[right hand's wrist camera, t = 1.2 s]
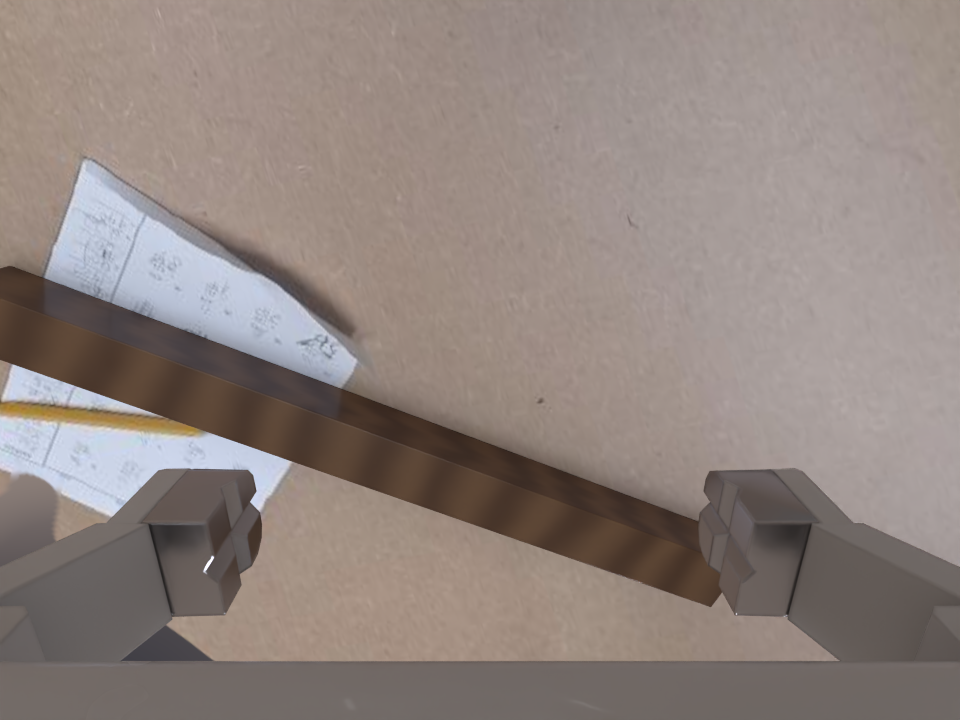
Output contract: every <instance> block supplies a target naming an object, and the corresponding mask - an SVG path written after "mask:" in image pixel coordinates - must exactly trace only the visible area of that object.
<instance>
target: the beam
mask: <svg viewBox="0 0 960 720" xmlns="http://www.w3.org/2000/svg"><path fill="white" fill-rule="evenodd" d="M0 360H2V361H5V362H8V363H11V364H14V365H17V366H19V367H22V368H25V369H28V370H31V371H34V372H37V373H40V374H42V375H45V376H48V377H51V378H54V379H57V380H60V381H63V382H65V383H68V384H71V385H74V386H77V387H80V388H83V389H86V390H88V391H91V392H94V393H97V394H100V395H103V396H106V397H109V398H111V399H114V400H117V401H120V402H123V403H126V404H129V405H132V406H134V407H137V408H140V409H143V410H146V411H149V412H152V413H155V414H157V415H160V416H163V417H166V418H169V419H172V420H175V421H178V422H180V423H183V424H186V425H189V426H192V427H195V428H198V429H201V430H203V431H206V432H209V433H212V434H215V435H218V436H221V437H223V438H226V439H229V440H232V441H235V442H238V443H241V444H244V445H246V446H249V447H252V448H255V449H258V450H261V451H264V452H267V453H269V454H272V455H275V456H278V457H281V458H284V459H287V460H290V461H292V462H295V463H298V464H301V465H304V466H307V467H310V468H313V469H315V470H318V471H321V472H324V473H327V474H330V475H333V476H336V477H338V478H341V479H344V480H347V481H350V482H353V483H356V484H359V485H361V486H364V487H367V488H370V489H373V490H376V491H379V492H382V493H384V494H387V495H390V496H393V497H396V498H399V499H402V500H405V501H407V502H410V503H413V504H416V505H419V506H422V507H425V508H428V509H430V510H433V511H436V512H439V513H442V514H445V515H448V516H451V517H453V518H456V519H459V520H462V521H465V522H468V523H471V524H474V525H476V526H479V527H482V528H485V529H488V530H491V531H494V532H497V533H499V534H502V535H505V536H508V537H511V538H514V539H517V540H520V541H522V542H525V543H528V544H531V545H534V546H537V547H540V548H542V549H545V550H548V551H551V552H554V553H557V554H560V555H563V556H565V557H568V558H571V559H574V560H577V561H580V562H583V563H586V564H588V565H591V566H594V567H597V568H600V569H603V570H606V571H609V572H611V573H614V574H617V575H620V576H623V577H626V578H629V579H632V580H634V581H637V582H640V583H643V584H646V585H649V586H652V587H655V588H657V589H660V590H663V591H666V592H669V593H672V594H675V595H678V596H680V597H683V598H686V599H689V600H692V601H695V602H698V603H701V604H703V605H706V606H709V607H711V606H712V605H713V604H714V602H715V601H716V600H717V598H718V597H719V596H720V594H721V593H722V591H721V589H720V587H719V579H720V574H719V573H718V572H716V571H715V570H713V569H712V568H710V567H709V566H708V565H707V563H706V561H705V559H704V557H703V554H702V551H701V548H700V545H699V535H698V524H699V522H697V521H695V520H692V519H689V518H686V517H684V516H681V515H678V514H676V513H673V512H670V511H668V510H665V509H662V508H660V507H657V506H654V505H652V504H649V503H646V502H643V501H641V500H638V499H635V498H633V497H630V496H627V495H625V494H622V493H619V492H617V491H614V490H611V489H608V488H606V487H603V486H600V485H598V484H595V483H592V482H590V481H587V480H584V479H582V478H579V477H576V476H574V475H571V474H568V473H565V472H563V471H560V470H557V469H555V468H552V467H549V466H547V465H544V464H541V463H539V462H536V461H533V460H530V459H528V458H525V457H522V456H520V455H517V454H514V453H512V452H509V451H506V450H504V449H501V448H498V447H496V446H493V445H490V444H487V443H485V442H482V441H479V440H477V439H474V438H471V437H469V436H466V435H463V434H461V433H458V432H455V431H452V430H450V429H447V428H444V427H442V426H439V425H436V424H434V423H431V422H428V421H426V420H423V419H420V418H418V417H415V416H412V415H409V414H407V413H404V412H401V411H399V410H396V409H393V408H391V407H388V406H385V405H383V404H380V403H377V402H374V401H372V400H369V399H366V398H364V397H361V396H358V395H356V394H353V393H350V392H348V391H345V390H342V389H340V388H337V387H334V386H331V385H329V384H326V383H323V382H321V381H318V380H315V379H313V378H310V377H307V376H305V375H302V374H299V373H296V372H294V371H291V370H288V369H286V368H283V367H280V366H278V365H275V364H272V363H270V362H267V361H264V360H262V359H259V358H256V357H253V356H251V355H248V354H245V353H243V352H240V351H237V350H235V349H232V348H229V347H227V346H224V345H221V344H218V343H216V342H213V341H210V340H208V339H205V338H202V337H200V336H197V335H194V334H192V333H189V332H186V331H183V330H181V329H178V328H175V327H173V326H170V325H167V324H165V323H162V322H159V321H157V320H154V319H151V318H149V317H146V316H143V315H140V314H138V313H135V312H132V311H130V310H127V309H124V308H122V307H119V306H116V305H114V304H111V303H108V302H105V301H103V300H100V299H97V298H95V297H92V296H89V295H87V294H84V293H81V292H79V291H76V290H73V289H71V288H68V287H65V286H62V285H60V284H57V283H54V282H52V281H49V280H46V279H44V278H41V277H38V276H36V275H33V274H30V273H27V272H25V271H22V270H19V269H17V268H14V267H11V266H8V267H4V268H0Z"/></svg>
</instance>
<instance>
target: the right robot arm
mask: <svg viewBox="0 0 960 720" xmlns="http://www.w3.org/2000/svg"><path fill="white" fill-rule="evenodd" d="M255 493H256V487H255V482H254V477H253V475H252V474H251V473H250V472H249V471H248V470H224V469H163V470H158V471H157V472H156V473H155V474H154V475H153V476H152V477H151V478H150V479H149V480H148V482H147V483H146V484H145V485H144V486H143V487H142V488H141V489H140V490H139V491H138V492H137V493H136V494H135V495H134V496H133V497H132V498H131V499H130V500H129V501H128V502H127V503H126V504H125V505H124V506H123V507H122V508H121V509H120V510H119V511H118V512H117V513H116V514H115V515H114V516H113V517H112V518H111V519H110V520H109V521H108V522H107V523H96V524H94V525H92V526H90V527H87V528H85V529H83V530H81V531H79V532H76V533H74V534H72V535H70V536H68V537H65V538H63V539H61V540H59V541H57V542H54V543H52V544H50V545H48V546H46V547H43V548H41V549H39V550H37V551H35V552H32V553H30V554H28V555H26V556H24V557H21V558H19V559H17V560H15V561H13V562H10V563H8V564H6V565H4V566H2V567H0V720H960V567H958V566H956V565H954V564H952V563H949V562H947V561H945V560H943V559H941V558H938V557H936V556H934V555H932V554H930V553H927V552H925V551H923V550H921V549H919V548H916V547H914V546H912V545H910V544H908V543H905V542H903V541H901V540H899V539H897V538H894V537H892V536H890V535H888V534H886V533H883V532H881V531H879V530H877V529H875V528H872V527H870V526H868V525H866V524H864V523H853V522H852V521H851V520H850V519H849V518H848V517H847V516H846V515H845V514H844V513H843V512H842V511H841V510H840V509H839V508H838V507H837V506H836V505H835V504H834V503H833V502H832V501H831V500H830V499H829V498H828V497H827V496H826V495H825V494H824V492H823V491H822V490H821V489H820V488H819V487H818V486H817V485H816V484H815V483H814V482H813V481H812V480H811V479H810V478H809V477H808V476H807V475H806V474H805V473H804V472H803V471H801V470H798V469H795V468H789V469H766V470H726V471H709V473H708V475H707V478H706V481H705V486H704V493H705V494H706V496H707V498H708V499H709V501H710V503H709V504H708V505H707V506H706V507H705V508H704V509H703V510H702V511H701V512H700V516H699V524H698V535H699V545H700V548H701V551H702V554H703V557H704V559H705V561H706V563H707V565H708V566H709V567H710V568H712V569H713V570H715V571H716V572H718V573H719V574H720V579H719V587H720V589H721V591H722V592H723V594H724V596H725V598H726V600H727V602H728V603H729V605H730V607H731V609H732V611H733V612H734V614H735V615H745V616H781V617H788V620H789V621H791V622H792V623H793V624H794V625H796V626H797V627H798V628H799V629H801V630H802V631H803V632H804V633H806V634H807V635H808V636H809V637H811V638H812V639H813V640H814V641H816V642H817V643H818V644H819V645H821V646H822V647H823V648H824V649H826V650H827V651H828V652H830V653H831V654H832V655H833V656H835V657H836V658H837V659H838V660H840V661H121V660H122V659H123V658H124V657H126V656H127V655H128V654H129V653H131V652H132V651H133V650H134V649H136V648H137V647H138V646H139V645H141V644H142V643H143V642H145V641H146V640H147V639H148V638H149V637H151V636H152V635H153V634H155V633H156V632H157V631H158V630H160V629H161V628H162V627H163V626H165V625H166V624H167V623H168V622H170V621H171V620H172V617H178V616H213V615H225V614H226V613H227V611H228V609H229V607H230V605H231V603H232V602H233V600H234V598H235V596H236V594H237V592H238V591H239V589H240V587H241V579H240V574H241V573H242V572H244V571H245V570H247V569H248V568H250V567H251V566H252V565H253V563H254V561H255V559H256V557H257V555H258V551H259V547H260V543H261V538H262V522H261V516H260V512H259V511H258V510H257V509H256V508H255V507H254V506H253V505H252V504H251V503H250V501H251V499H252V498H253V496H254V494H255Z"/></svg>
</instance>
